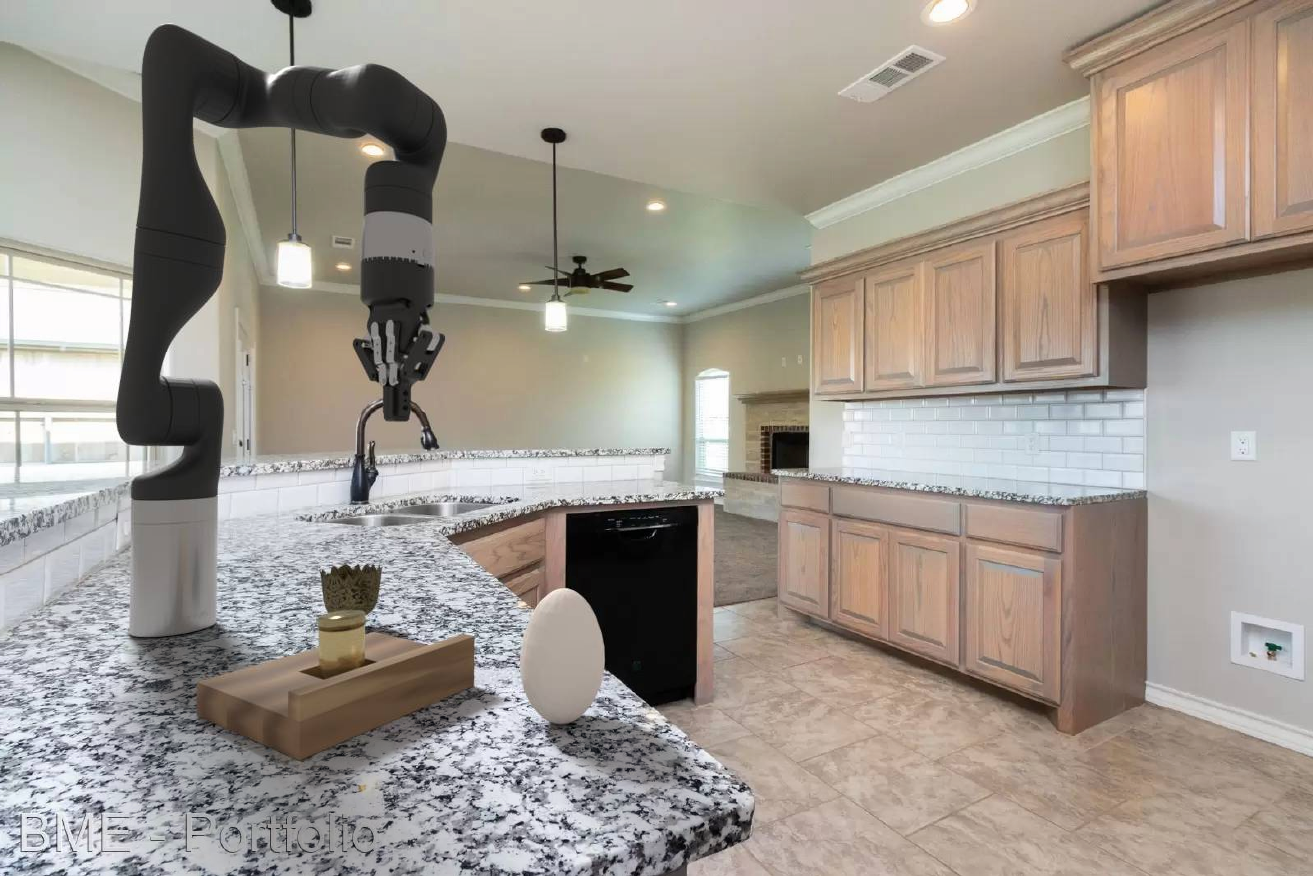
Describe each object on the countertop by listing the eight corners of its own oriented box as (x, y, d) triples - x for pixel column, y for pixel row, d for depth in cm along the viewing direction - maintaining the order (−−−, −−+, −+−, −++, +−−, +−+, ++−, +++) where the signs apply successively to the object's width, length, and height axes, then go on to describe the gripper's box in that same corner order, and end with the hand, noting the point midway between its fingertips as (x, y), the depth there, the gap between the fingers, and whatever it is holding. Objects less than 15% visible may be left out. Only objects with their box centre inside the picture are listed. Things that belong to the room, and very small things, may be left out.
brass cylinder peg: (308, 702, 61) (309, 617, 61) (349, 688, 64) (349, 608, 65) (333, 711, 59) (334, 623, 59) (374, 696, 62) (374, 613, 62)
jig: (196, 715, 58) (197, 659, 58) (373, 658, 73) (374, 614, 73) (299, 760, 50) (299, 695, 50) (474, 685, 65) (474, 636, 65)
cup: (357, 638, 81) (357, 575, 81) (306, 635, 82) (306, 572, 82) (393, 622, 88) (393, 564, 88) (345, 619, 89) (346, 562, 90)
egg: (557, 749, 52) (558, 603, 52) (502, 723, 56) (503, 589, 57) (621, 719, 57) (622, 588, 57) (566, 698, 62) (566, 576, 62)
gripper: (329, 263, 70) (327, 421, 70) (409, 245, 64) (408, 419, 64) (388, 278, 77) (387, 423, 77) (467, 263, 70) (466, 421, 70)
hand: (396, 421), depth 70 cm, fingers closed
